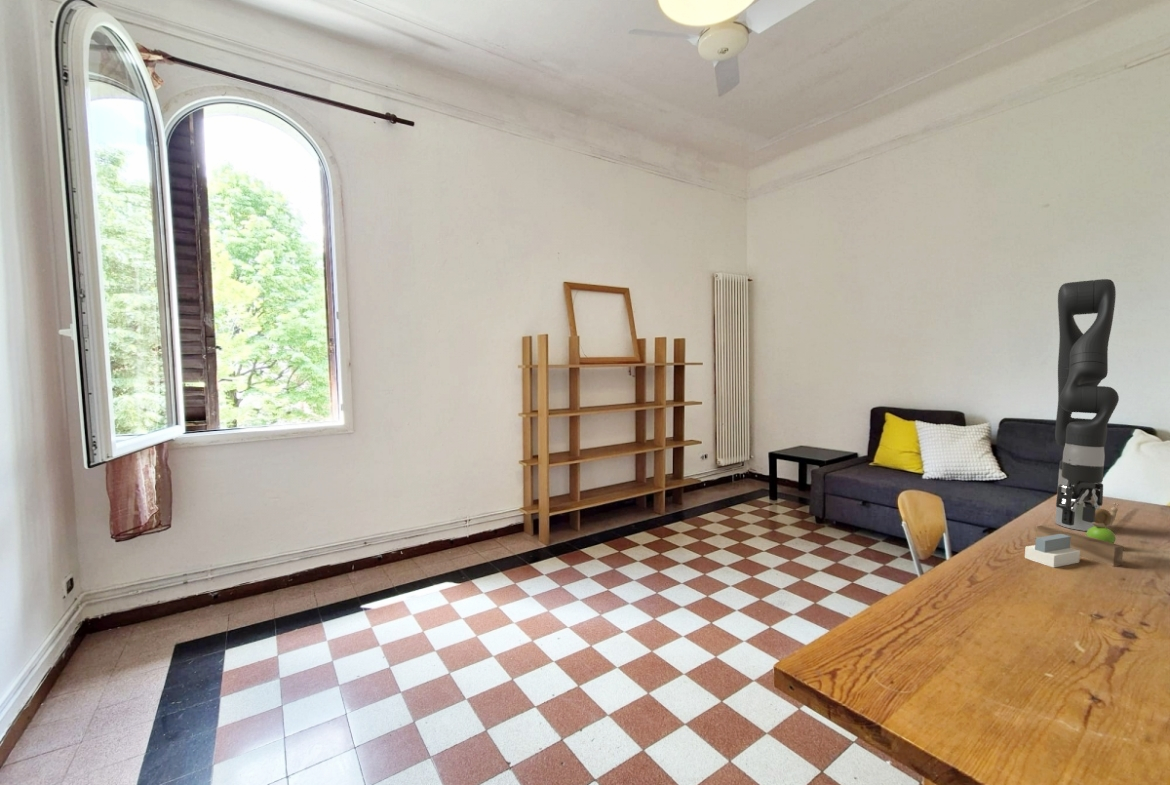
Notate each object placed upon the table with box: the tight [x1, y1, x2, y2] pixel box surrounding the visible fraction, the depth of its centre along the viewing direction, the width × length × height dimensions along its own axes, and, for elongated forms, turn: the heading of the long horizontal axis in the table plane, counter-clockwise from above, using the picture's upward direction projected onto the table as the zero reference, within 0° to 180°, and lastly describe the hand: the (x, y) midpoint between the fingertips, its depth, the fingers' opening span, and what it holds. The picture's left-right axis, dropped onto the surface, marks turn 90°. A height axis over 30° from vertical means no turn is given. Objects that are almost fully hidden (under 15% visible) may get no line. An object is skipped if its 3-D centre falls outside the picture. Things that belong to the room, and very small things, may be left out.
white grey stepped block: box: [1024, 534, 1081, 568], centre depth 122 cm, size 10×6×6 cm, turn 108°
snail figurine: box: [1086, 502, 1120, 544], centre depth 132 cm, size 5×6×12 cm
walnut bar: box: [1035, 524, 1124, 567], centre depth 127 cm, size 4×16×5 cm, turn 18°
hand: (1077, 523), depth 126 cm, fingers open, 8 cm apart
